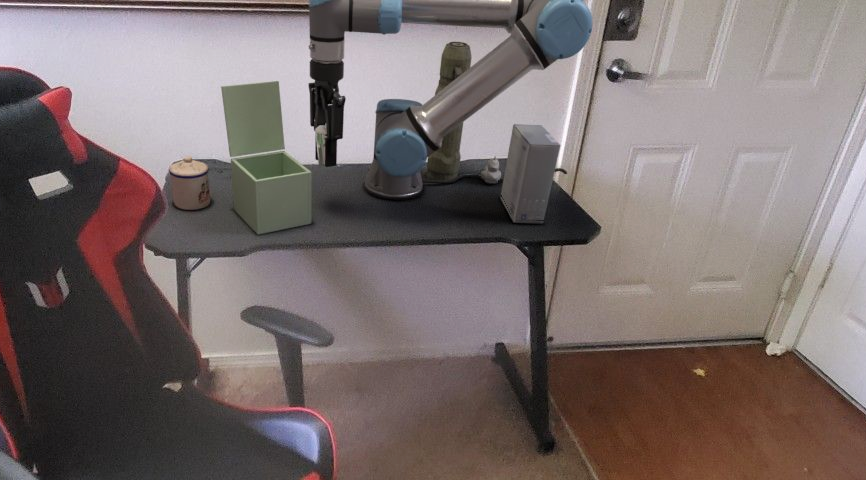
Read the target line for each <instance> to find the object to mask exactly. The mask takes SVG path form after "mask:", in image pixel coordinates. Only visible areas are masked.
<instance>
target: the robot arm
mask: <svg viewBox="0 0 866 480" xmlns="http://www.w3.org/2000/svg"><path fill="white" fill-rule="evenodd" d="M308 13H309V14H308V19H309V26H308V27H309V44H308V49H309V58H311V59H310V61H309V77H310V78H311V79H312V80H313V81H314V82H308V91H309V119H310V120H309V125H310V127H313V132H314V133H315V134H314V135H315V136H314V139H315V148H314V149H315V151H314V154H315V157H314V159H315V160H316V161H318V152H317V141H316V132H315V129H316V128H317V127H318V126H320V125H326V129H327V138H324V139H325V166H324V167H325V168H331V167H336V166H337V165H338V164H337V163H338V140H342V139H343V138H344V120H345V119H344V118H345V105H346V100H347V99H346V96H345V95H341V94H340V88H339V82H340V81H342V80H343V78H344V75H345V62H344V61H343V60H344V59H345V32H349V33H364V34H367V33H368V34H380V35H383V36H384V35H390V34H391V35H394V34H395V35H396V34H398V33H400V31H401V28H402V27H401V26H402V24H413V25H414V24H415V25H432V26H433V25H434V26H453V27H471V28H489V29H490V28H491V29H504V30H505V31H506V32H507V33H508V34H510V35H509V36H508V37H507V38H506V39H504V40H503V41H502V42H500V43H499V44H498V45H497V46H496V47H494V48H493V49H492V50H491V51H489V52H488V53H487V54H486V55H484V56H483V57H481V58H480V59H479V60H478V61H477V62H475V63H474V64H472V65H471V66H470V68H469V69H468V70H467V71H465V72H464V73H463V74H461V75H460V76H459V77H458V78H456V79H455V80H454V81H453V82H451V83H450V84H449V85H448V86H446V87H445V88H444V89H442V90H441V91H440V92H439V93H437V94H436V95H435V94H434V95H433V96H432V97H431V98H430V99H429V100H427V101H426V102H425V103H423V104H422V103H421V102H420V101H417V100H412V99H402V98H386V99H381V100H379V101H378V102H377V103H376V110H375V127H374V143H373V158H372V161H371V164H370V166H369V168H368V169H367V170H368V171H367V174H366V176H365V181H364V189H365V191H366V192H367V193H368V194H370V195H372V196H374V197H377V198H380V199H384V200H390V201H391V200H392V201H404V200H405V201H406V200H410V199H414V198H417V197H418V196H420V195H421V194H422V192H423V187H424V186H423V185H424V184H443V185H445V184H446V185H447V184H452V183H455V182H457V181H459V180H460V179H463V178H476V179H482V178H481V176H479V175H480V174H477V175H463V174H458V176H459V177H458V176H457V178H454V179H451V180H430V179H423V178H422V173H421V170H422V169H423V167H424V166H425V164H426V163H427V161H428V157H429V156H430V155H431V154H433V153H434V152H435V151H436V150H438V149H439V148H440V147H441V145H442V139H443V137H444V136H445V135H447V134H448V133H449V132H451V131H452V130H453V129H455V128H456V127H457V126H459V125H460V124H461V123H462V122H463V123H464V122H465V121H466V120H468V119H469V118H470V117H473V115H475V114H476V113H477V112H478V111H480V110H481V109H482V108H484V107H485V106H486V105H488V104H489V103H490V102H491V101H493V100H494V99H496V98H497V97H499V95H501V94H502V93H503V92H505V91H506V90H508V89H509V88H511V86H513V85H514V84H515V83H517V82H518V81H519V80H521V79H522V78H524V77H525V76H526V75H528V74H529V73H530V72H531V71H533V70H538V71H539V70H540V71H544V70H545V69H547V68H548V67H550V66H551V65H552V64H554V63H555V62H557V60H564V59H568V58H572V57H574V56H575V55H577V54H579V53H580V52H581V51H582V50H583V49H584V48H585V46H586V45H587V43H588V42H589V39H590V37H591V34H592V31H593V22H594V21H593V16H592V12H591V9H590V8H589V6H588V5H587V4H586V2H585V1H584V0H309V3H308ZM556 172H561V173H562V174H564V175H568V172H567V171H566V170H565V169H564V168H561V167H558V168H556V167H555V172H554V173H556ZM460 175H462V176H460ZM503 180H504V178H503V179H500V180H499V182H501V183H503ZM545 285H546V288H547V287H548V284H545Z"/></svg>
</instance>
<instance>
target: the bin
mask: <svg viewBox="0 0 866 480" xmlns="http://www.w3.org/2000/svg"><path fill="white" fill-rule="evenodd" d="M230 169H231V186H232V200H233V201H232V202H233V210H234V211H235V212H236V213H237V215H239V217H241V218H242V220H243V221H244V222H245V223H246V224H247V225H248V226H249V227H250V228H251V230H253V231H254V232H255V233H256V234H257V235H263V234H267V233H272V232H277V231H283V230H286V229H291V228H292V229H293V228H297V227H301V226H307V225H310V224H312V185H313V183H312V182H313V181H312V176H313V174H312V173H313V172H312V171H311V170H310V169H308V168H307V167H306V166H304V164H302V163H301V162H299V161H298V160H297V159H295V157H293V156H291V155H290V154H289V153H288V152H286V151H285V150H279V151H272V152H266V153H259V154H252V155H249V156H248V155H245V156H239V157H232V158H230Z"/></svg>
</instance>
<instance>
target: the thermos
mask: <svg viewBox="0 0 866 480" xmlns="http://www.w3.org/2000/svg"><path fill="white" fill-rule="evenodd" d="M472 58H473V57H472V50H471V46H470V44H468V43H466V42H462V41H450V42H448V43H446V44H445V46H444V48H443V51H442V53H441V58H440V67H439V79H438V84H437V87H436V89H435V92H434V96H435V95H436V94H437V93H439V92H440V91H441V90H442V89H444V88H445V87H446V86H448V85H449V84H450V83H451V82H453V81H454V80H455V79H456V78H458V77H459V76H460V75H461V74H463V73H464V72H465V71H467V70H468V69H469V68H470V67H472ZM463 128H464V122H462V123H461V124H460V125H459V126H457V127H456V128H455V129H453V130H452V131H451V132H449V133H448V134H447V135H445V136H444V137H443V139H442V145H441V147H440V148H439V149H438V150H436V151H435V152H434V153H433V154H431V155H430V156H429V157H427V160H426V169H427V170H426V178H427V180H451V179H454V178H456V177H457V176H459V173H458V172H459V171H460V166H461V159H462V158H461V157H462V155H461V151H460V150H461V143H462V136H463Z"/></svg>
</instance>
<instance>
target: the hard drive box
mask: <svg viewBox="0 0 866 480" xmlns="http://www.w3.org/2000/svg"><path fill="white" fill-rule="evenodd" d="M561 146H562V145H561V144H560V143H559V142H558V140H557V139H555V138H554V137H553V135H552V134H551V133H550V132H549V131H548V130H547V129H546V128H545V127H544V126H543V125H542V124H519V123H513V125H512V129H511V136H510V140H509V145H508V153H507V158H506V163H505V167H504V168H505V169H504V174H503V179H504V180H503V182H502V186H501V192H500V198H499V199H500V201H501V202H502V204H503V206H504V208H505V209H506V212H507V213H508V215H509V217H510V219H511V221H512V222H513V223H515V224H544V221H516V220H545V216H546V212H547V207H548V203H549V199H550V194H551V190H552V186H553V185H552V184H553V180H554V176H555V173H556V172H555V169H556V167H557V162H558V158H559V153H560V149H561ZM501 195H502V197H503V199H504V200H503V199H502V197H501ZM504 201H505V202H504ZM505 203H506V204H505ZM506 205H507V206H506ZM507 207H508V208H507ZM508 209H509V210H508ZM509 211H510V212H509ZM510 213H511V214H510Z"/></svg>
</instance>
